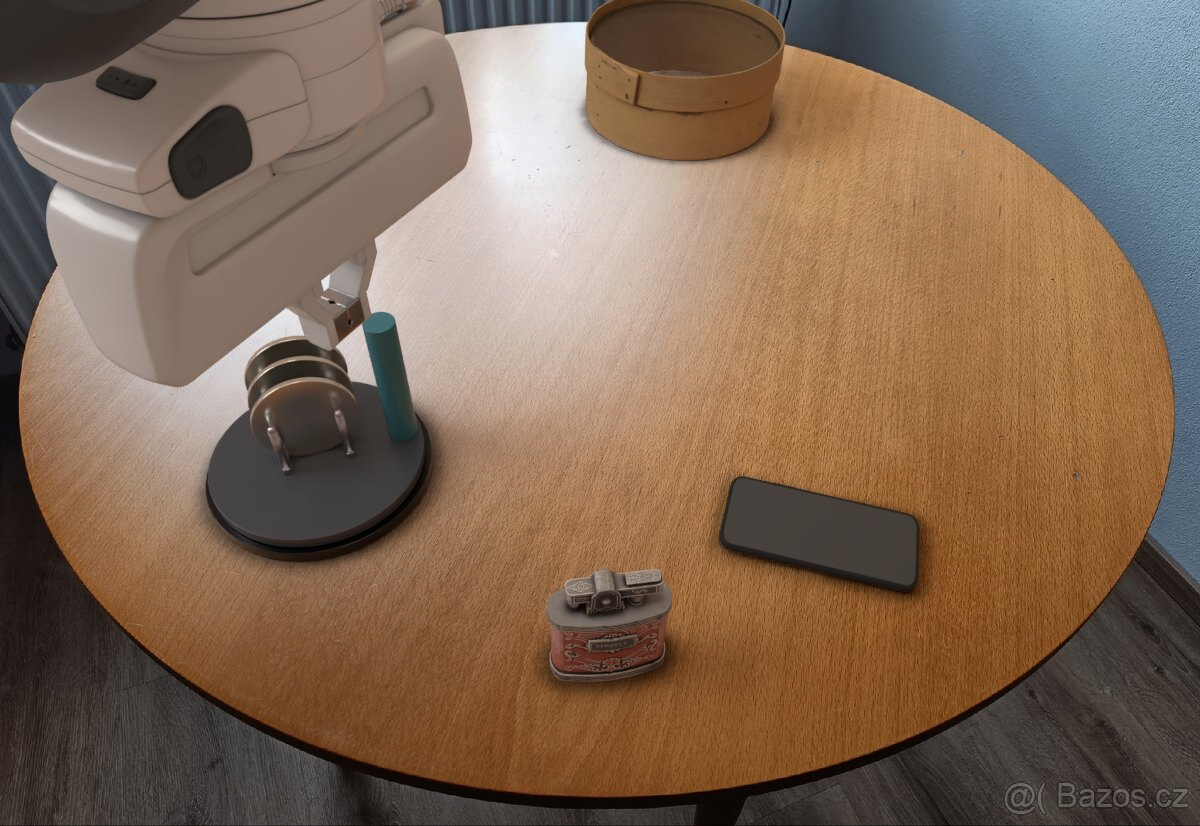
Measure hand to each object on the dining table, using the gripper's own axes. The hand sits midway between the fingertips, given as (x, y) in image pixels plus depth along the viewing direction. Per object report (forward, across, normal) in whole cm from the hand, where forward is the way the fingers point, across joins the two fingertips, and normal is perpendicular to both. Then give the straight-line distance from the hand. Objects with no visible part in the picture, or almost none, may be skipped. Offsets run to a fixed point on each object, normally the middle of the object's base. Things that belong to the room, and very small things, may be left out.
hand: (339, 330), depth 42 cm
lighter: (+27, -4, +14) cm, 31 cm away
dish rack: (+26, -7, -15) cm, 31 cm away
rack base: (+27, -7, -15) cm, 32 cm away
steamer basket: (+27, -77, -16) cm, 83 cm away
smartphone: (+27, -21, +23) cm, 41 cm away
